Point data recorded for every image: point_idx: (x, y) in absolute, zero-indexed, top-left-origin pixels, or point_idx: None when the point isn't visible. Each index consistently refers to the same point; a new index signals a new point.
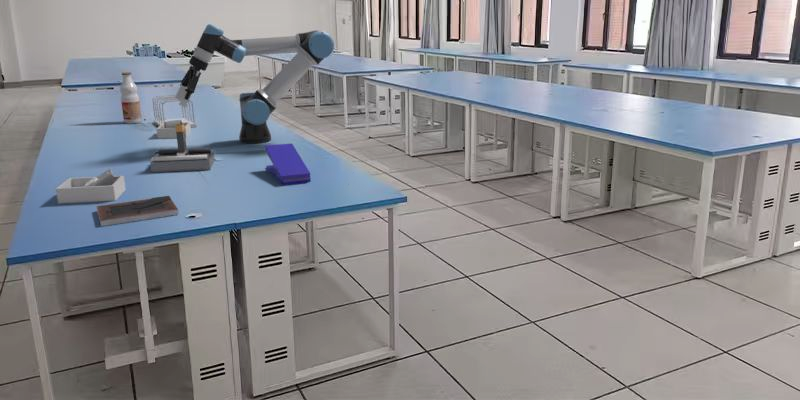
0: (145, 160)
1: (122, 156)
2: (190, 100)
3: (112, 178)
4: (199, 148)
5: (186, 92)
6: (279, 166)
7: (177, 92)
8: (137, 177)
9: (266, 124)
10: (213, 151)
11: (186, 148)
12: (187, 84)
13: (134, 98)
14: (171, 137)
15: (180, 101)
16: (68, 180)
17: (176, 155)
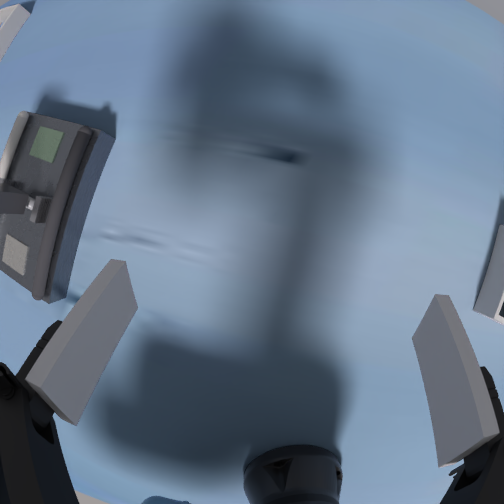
0: (180, 102)
1: (289, 54)
2: None
3: None
4: (38, 260)
5: (37, 378)
6: None
7: (462, 345)
8: (27, 92)
9: None
10: (47, 302)
11: (20, 213)
12: (444, 501)
13: None
14: (490, 265)
15: (105, 280)
16: (9, 8)
17: (47, 182)
